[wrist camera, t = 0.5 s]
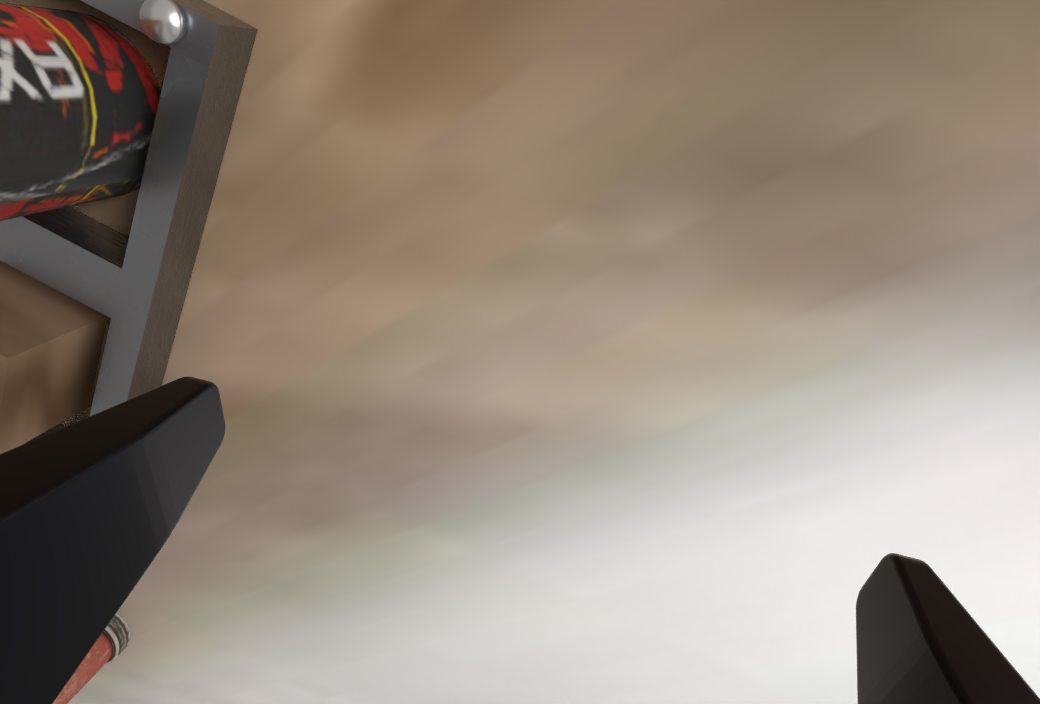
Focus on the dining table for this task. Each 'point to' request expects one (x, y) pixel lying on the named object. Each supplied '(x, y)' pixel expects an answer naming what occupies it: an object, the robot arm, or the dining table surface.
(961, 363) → the dining table surface
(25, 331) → the walnut block
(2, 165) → the deodorant
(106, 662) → the lighter
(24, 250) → the grey tray
